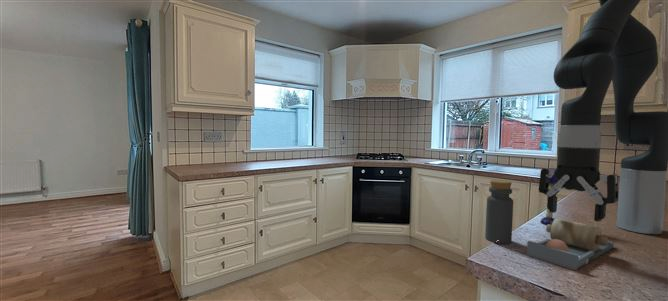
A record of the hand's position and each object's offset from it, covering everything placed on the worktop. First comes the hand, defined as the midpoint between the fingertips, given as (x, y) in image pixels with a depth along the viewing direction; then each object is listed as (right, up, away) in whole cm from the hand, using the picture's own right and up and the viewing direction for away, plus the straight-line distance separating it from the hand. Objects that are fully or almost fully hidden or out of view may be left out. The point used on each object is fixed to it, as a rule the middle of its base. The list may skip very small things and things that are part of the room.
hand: (574, 216), depth 70 cm
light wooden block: (+8, -8, +6) cm, 12 cm away
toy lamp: (+9, -7, +21) cm, 24 cm away
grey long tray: (0, -8, 0) cm, 8 cm away
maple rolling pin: (+1, -8, +1) cm, 8 cm away
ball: (-9, -7, -5) cm, 12 cm away
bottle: (-14, -8, +7) cm, 17 cm away
